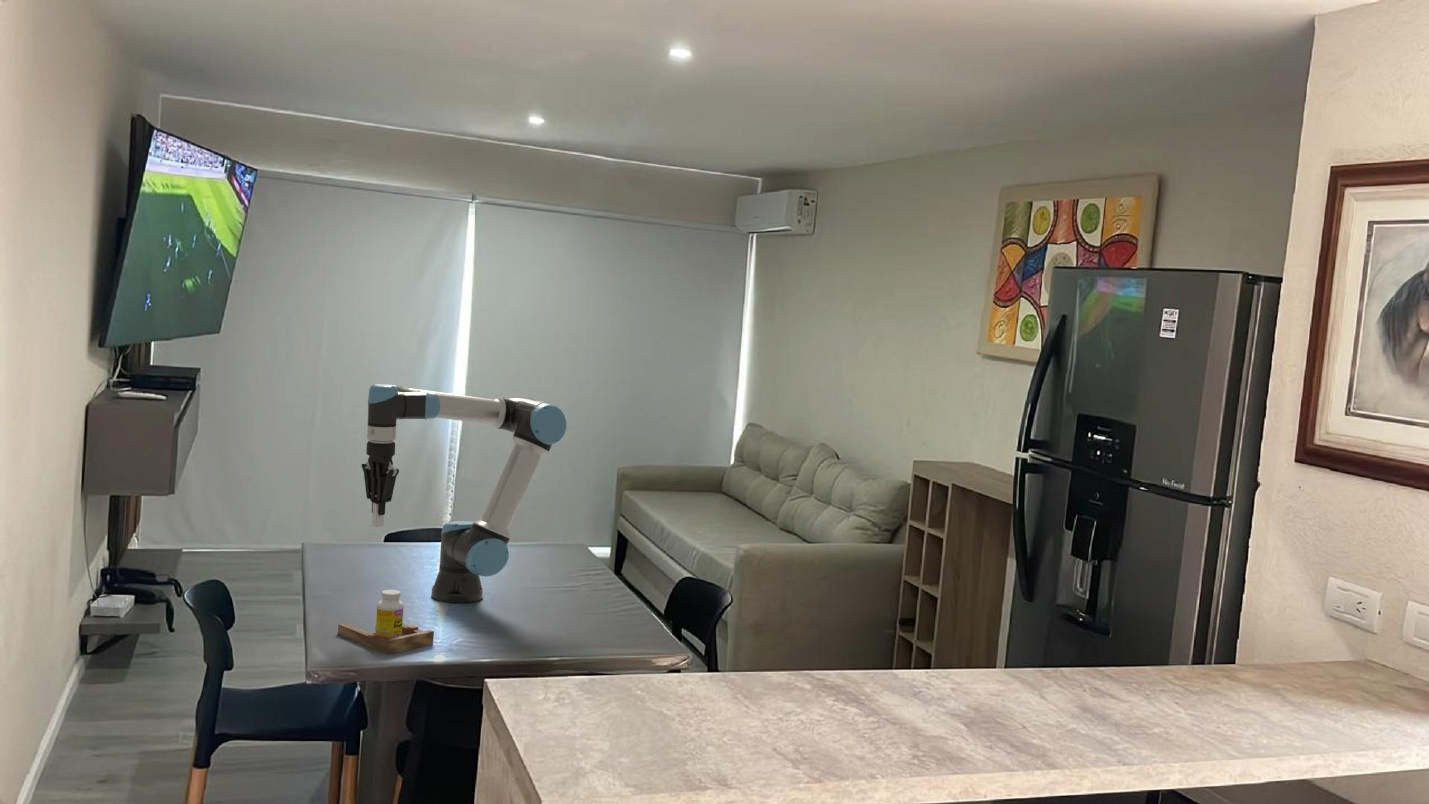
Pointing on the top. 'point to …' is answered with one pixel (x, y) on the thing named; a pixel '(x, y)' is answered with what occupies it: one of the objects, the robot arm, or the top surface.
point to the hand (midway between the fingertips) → (377, 525)
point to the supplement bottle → (389, 615)
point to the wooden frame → (393, 645)
